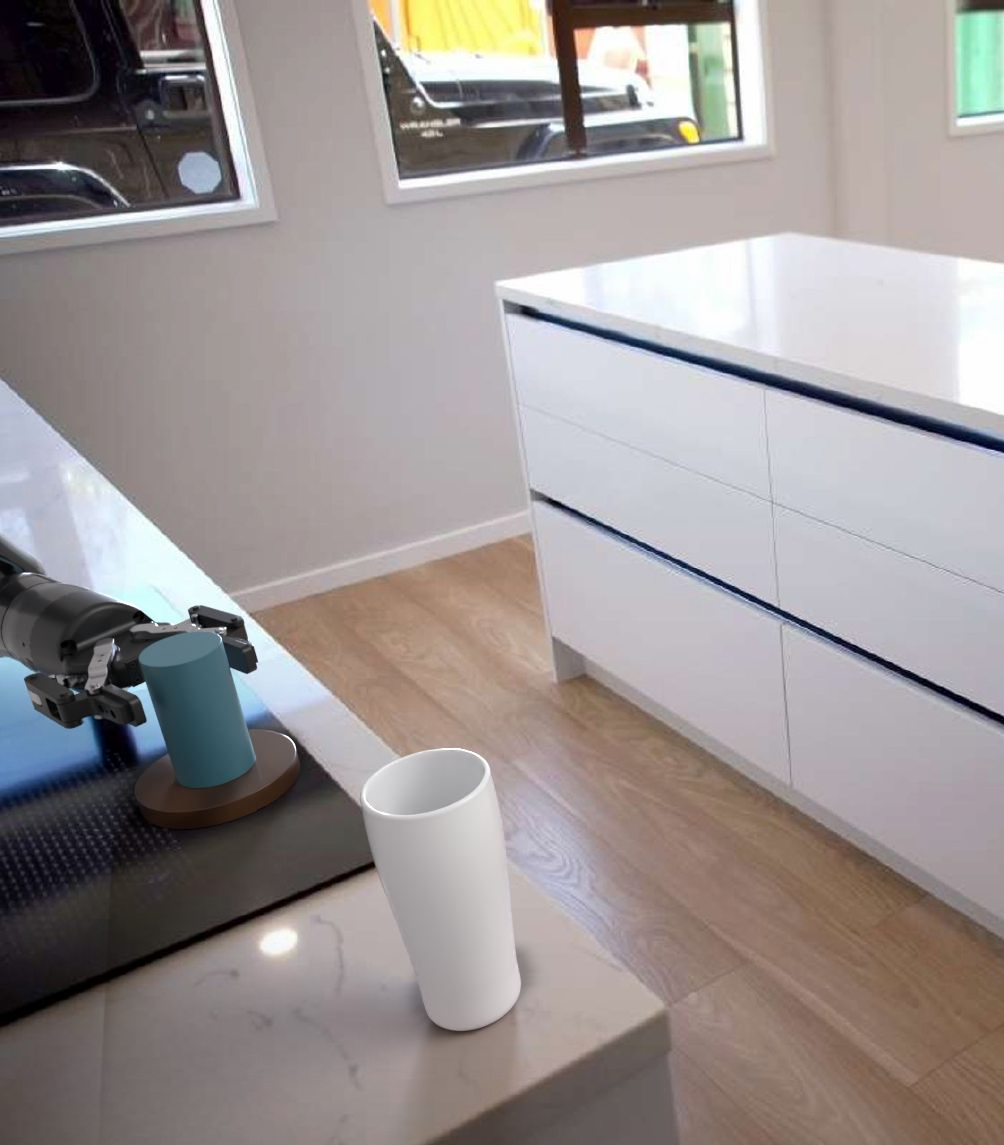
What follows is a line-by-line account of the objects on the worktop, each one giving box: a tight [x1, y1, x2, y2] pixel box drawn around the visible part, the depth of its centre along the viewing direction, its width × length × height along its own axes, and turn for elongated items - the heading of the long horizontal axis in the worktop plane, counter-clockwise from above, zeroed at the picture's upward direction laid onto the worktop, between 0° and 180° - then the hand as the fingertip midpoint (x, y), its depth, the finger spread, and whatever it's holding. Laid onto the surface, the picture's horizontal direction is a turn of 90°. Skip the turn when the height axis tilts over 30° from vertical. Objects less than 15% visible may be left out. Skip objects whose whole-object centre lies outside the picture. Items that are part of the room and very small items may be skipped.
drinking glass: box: [359, 747, 522, 1032], centre depth 71 cm, size 7×7×15 cm
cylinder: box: [138, 631, 256, 788], centre depth 94 cm, size 5×5×10 cm
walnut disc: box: [134, 729, 301, 830], centre depth 97 cm, size 11×11×2 cm
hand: (197, 685), depth 93 cm, fingers open, 8 cm apart
